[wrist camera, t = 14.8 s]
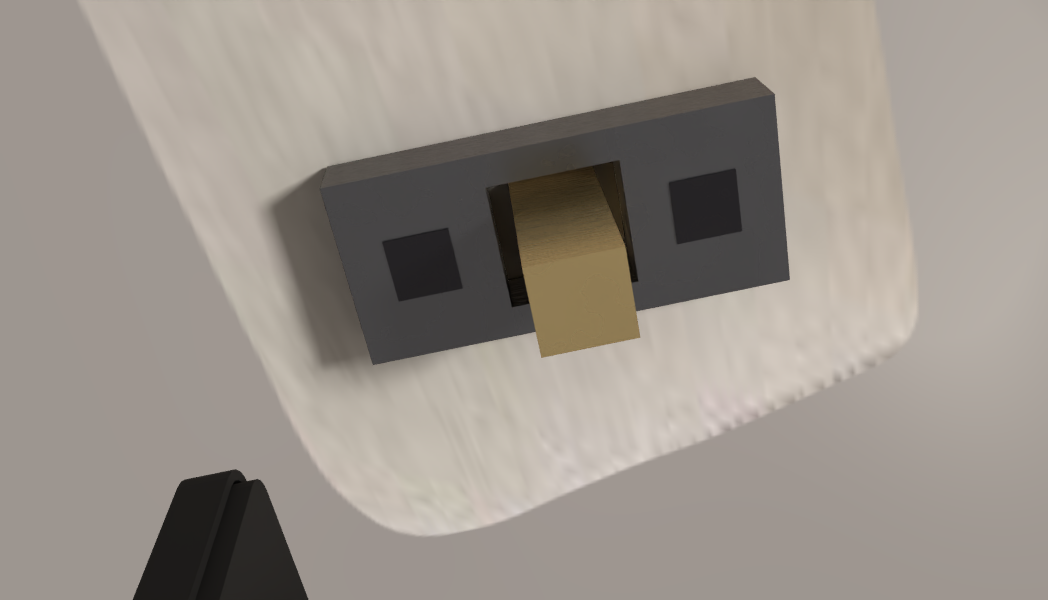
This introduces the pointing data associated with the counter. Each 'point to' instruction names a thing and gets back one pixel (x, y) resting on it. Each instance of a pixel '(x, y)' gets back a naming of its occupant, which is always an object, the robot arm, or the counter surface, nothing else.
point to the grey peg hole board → (542, 149)
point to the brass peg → (573, 262)
